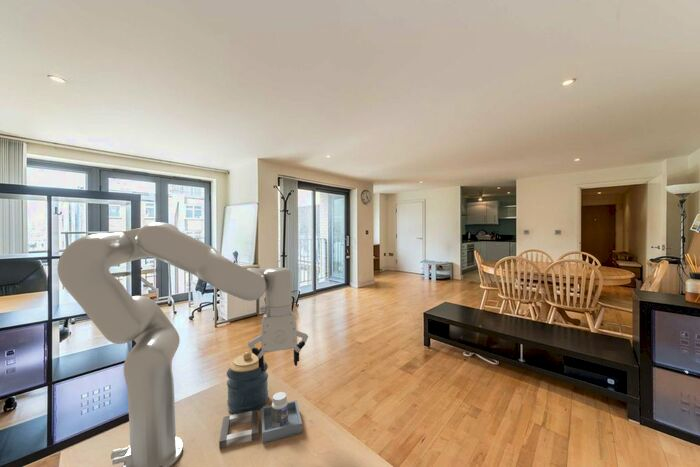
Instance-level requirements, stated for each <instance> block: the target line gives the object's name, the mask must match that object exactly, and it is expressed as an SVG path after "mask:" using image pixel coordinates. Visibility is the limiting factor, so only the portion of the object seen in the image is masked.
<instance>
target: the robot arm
mask: <svg viewBox="0 0 700 467" xmlns="http://www.w3.org/2000/svg"><path fill="white" fill-rule="evenodd" d="M150 257H152V258H154V259H156V260H159V261H161V262H163V263H166V264H168V265H170V266H172V267H173V266H174V267H175V268H178V269H180V270H183V271H185V272H187V273H189V274H191V275H194V277H195V276H196V278H198V279H199V280H200V281H203V282H205V283H207V284H209V285H210V286H212V287H213V288H216V289H217V290H219V291H221V292H223V293H226V294H228V295H231V296H232V297H235V298H238V299H240V300H243V301H246V302H247V301H249V302H252V301H256V300H259V299H261V297H262V296H265V297H264V298H265V305H264V306H262V307H261V306H260V313H264V314H262V315H263V316H262V320H261V329H260V330H261V333H260V334H259V335H258V336H256V337H254V338H252V339H251V340H250V341H248V343H247V346H248V348H249V349H250V352H251V353H254V354H255V355H256V356H257V357H258V358H259V368H260V367H261V372H262V371H264V358H265V357H264V355H265V353H272V352H278V351H279V352H280V351H285V350H291V349H293V364H294V366H295V367H297V366H298V362H300V352H301V351H302V349H303V348H304V346H305V345H306V343H307V342H308V341H307V340H308V339H309V335H308V334H307V333H305V332H301V331H300V330H297V320H296V315H295V312H294V311H293V310H292V306H293V303H292V302H293V301H292V296H293V295H292V288H293V287H292V271H291V270H290V269H289V268H288V267H272V268H260V267H259V268H258V267H249V268H245V267H243V266H241V265H240V264H237V263H235V262H233V261H231V260H229V259H228V258H226V257H224V255H222V254H221V253H220V251H218V250H217V249H216V248H214V247H213V246H211V245H210V244H207V243H205V242H203V241H201V240H198V239H196V238H194V237H192V236H190V235H188V234H186V233H184V232H182V231H180V230H179V228H178V227H176V226H175V225H173V224H171V223H168V222H151V223H148V224H146V225H144V226H142V227H139V228H134V229H128V230H122V231H117V232H109V233H107V232H106V233H105V232H103V233H92V234H88V235H84V236H82V237H79V238H77V239H75V240H74V241H73V242H70V244H69V245H68V246H67V247H66V248H65V249H64V250H63V251H62V253H61V255H60V257H59V258H58V262H57V275H58V279H59V281H60V283H61V284H62V286H63V287H64V288H65V290H66V292H68V293H69V294H70V295H71V297H72V298H73V299H74V301H76V303H77V304H78V305H79V306H80V307H81V309H82V310H83V312H84V313H85V314H86V315H87V316H88V317H89V319H90V320H91V321H92V323H93V325H94V326H95V327H96V328H97V329H98V330H99V331H100V333H101V334H102V336H103V337H104V338H105V339H107V341H108V342H110V343H112V344H116V345H123V344H128V343H130V342H132V341H134V342H135V345H134V346H133V347H132V348H131V349H130V351H129V353H128V354H127V355H126V358H125V359H124V364H123V377H124V380H125V385H126V390H127V403H128V405H127V407H128V419H129V420H128V422H129V444H128V446H127V447H120V448H117V449H113V450H112V451H111V454H110V459H111V460H112V461H111V462H112V463H111V465H112V466H113V465H117V464H120V463H124V464H123V465H122V467H172V466H173V465H174V464H175V463H176V462H177V461H178V460H179V458H180V457H181V455H182V454H183V449H184V445H183V440H182V439H181V438H180V437H177V435H176V434H177V432H176V430H177V429H176V410H175V409H176V404H175V403H176V401H175V383H174V374H173V365H172V363H173V359H174V357H175V354H176V352H177V351H178V348H179V346H180V342H181V340H180V335H179V333H178V330H177V329H176V327H175V325H173V323H172V322H171V321H170V319H169V318H168V317H167V315H166V314H165V313H164V311H163V310H162V309H161V307H160V305H158V303H156V302H155V301H154V299H152V298H150V297H148V296H145V295H134V296H133V295H131V294H130V293H129V292H128V291H127V290H126V288H125V286H124V285H123V284H122V282H120V280H118V279H117V278H116V277H115V276H114V275H112V274H111V272H110V268H112V267H115V266H119V265H122V264H125V263H128V262H133V261H137V260H143V259H145V258H146V259H147V258H150ZM264 294H265V295H264ZM298 337H299V338H301V340H300V341H299V343H298ZM259 342H260V348H257V347H256V346H255V345H257V344H258V343H259Z"/></svg>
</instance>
